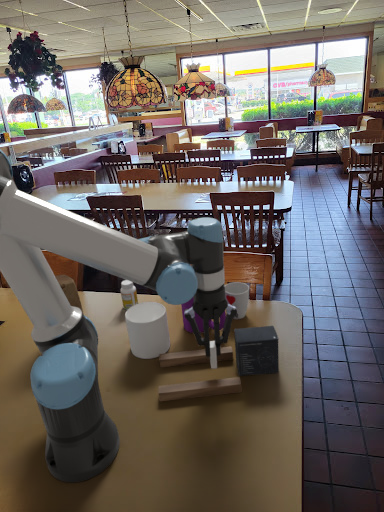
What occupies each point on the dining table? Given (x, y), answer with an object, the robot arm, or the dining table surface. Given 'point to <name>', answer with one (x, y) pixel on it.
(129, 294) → the supplement bottle
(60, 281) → the block
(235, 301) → the cup
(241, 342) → the box
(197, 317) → the mug
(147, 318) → the cup
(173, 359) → the parallel wooden rails
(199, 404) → the dining table surface
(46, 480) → the dining table surface
